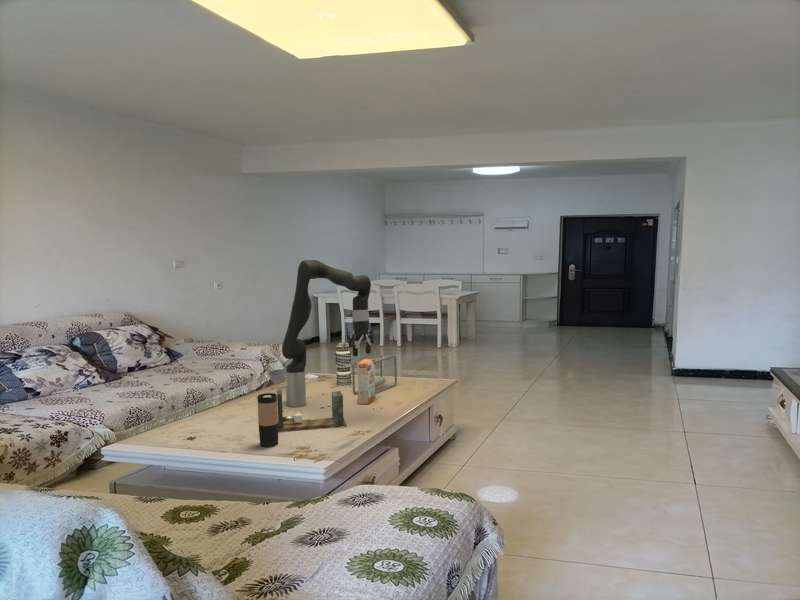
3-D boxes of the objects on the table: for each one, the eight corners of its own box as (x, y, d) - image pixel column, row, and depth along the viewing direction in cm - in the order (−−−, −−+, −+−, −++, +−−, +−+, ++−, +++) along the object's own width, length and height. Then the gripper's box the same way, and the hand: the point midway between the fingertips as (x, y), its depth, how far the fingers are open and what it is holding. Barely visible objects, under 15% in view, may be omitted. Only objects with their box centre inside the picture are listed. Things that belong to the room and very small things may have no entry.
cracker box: (369, 404, 302) (368, 363, 301) (357, 404, 303) (356, 363, 302) (376, 398, 316) (374, 358, 314) (364, 398, 317) (363, 358, 316)
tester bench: (271, 432, 259) (270, 401, 258) (271, 425, 269) (270, 395, 268) (346, 426, 265) (345, 396, 264) (343, 419, 276) (342, 390, 275)
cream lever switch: (295, 422, 264) (295, 415, 264) (294, 418, 271) (294, 411, 271) (302, 421, 265) (302, 415, 265) (301, 417, 272) (301, 411, 272)
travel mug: (260, 442, 246) (258, 393, 244) (279, 441, 246) (277, 392, 245) (258, 448, 238) (255, 397, 237) (277, 447, 239) (275, 397, 237)
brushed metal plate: (278, 426, 260) (277, 394, 259) (278, 421, 269) (277, 390, 268) (294, 425, 261) (293, 393, 260) (294, 420, 270) (293, 389, 269)
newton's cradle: (369, 397, 319) (368, 363, 318) (352, 395, 324) (351, 362, 323) (397, 385, 345) (396, 354, 344) (381, 384, 350) (380, 353, 349)
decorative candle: (345, 388, 341) (344, 344, 339) (332, 387, 346) (331, 343, 344) (355, 385, 348) (354, 342, 346) (342, 383, 353) (341, 341, 351)
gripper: (365, 317, 282) (366, 352, 283) (343, 320, 271) (345, 356, 272) (377, 318, 278) (378, 353, 279) (356, 321, 266) (357, 358, 268)
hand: (361, 354), depth 276 cm, fingers open, 8 cm apart
